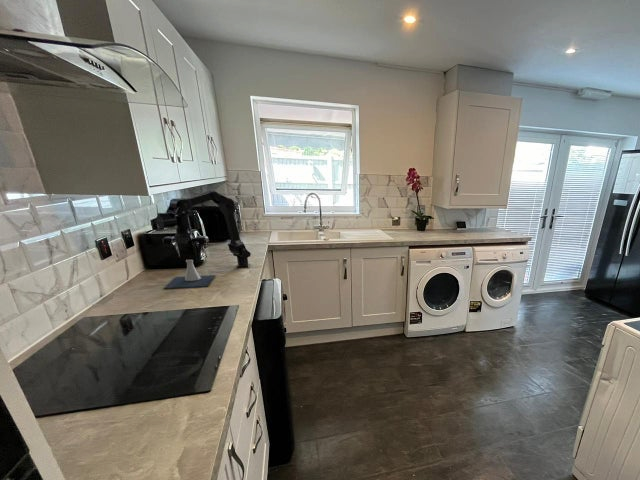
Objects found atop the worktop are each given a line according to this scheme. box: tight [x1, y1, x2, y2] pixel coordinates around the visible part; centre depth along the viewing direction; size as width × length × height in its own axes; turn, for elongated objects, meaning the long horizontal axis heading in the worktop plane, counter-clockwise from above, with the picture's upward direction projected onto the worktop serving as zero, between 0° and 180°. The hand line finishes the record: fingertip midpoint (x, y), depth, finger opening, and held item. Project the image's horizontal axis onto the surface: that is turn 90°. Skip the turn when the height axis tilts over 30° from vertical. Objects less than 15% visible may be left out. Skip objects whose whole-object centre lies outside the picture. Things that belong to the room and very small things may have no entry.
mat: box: [164, 274, 216, 290], centre depth 163 cm, size 18×18×1 cm
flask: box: [184, 259, 201, 281], centre depth 164 cm, size 7×7×10 cm
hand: (189, 257), depth 163 cm, fingers open, 9 cm apart
